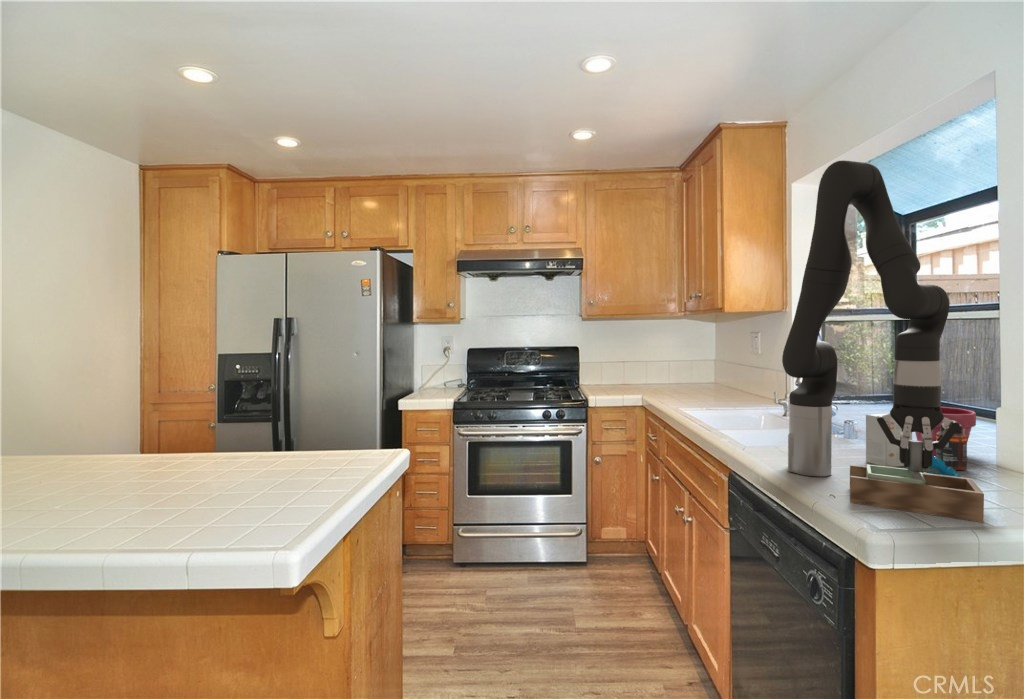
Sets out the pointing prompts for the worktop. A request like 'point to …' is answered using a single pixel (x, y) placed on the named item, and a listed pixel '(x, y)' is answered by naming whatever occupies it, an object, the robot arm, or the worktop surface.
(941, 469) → the gear
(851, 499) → the bay
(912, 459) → the crate
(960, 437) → the supplement bottle
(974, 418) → the plant pot
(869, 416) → the small box
